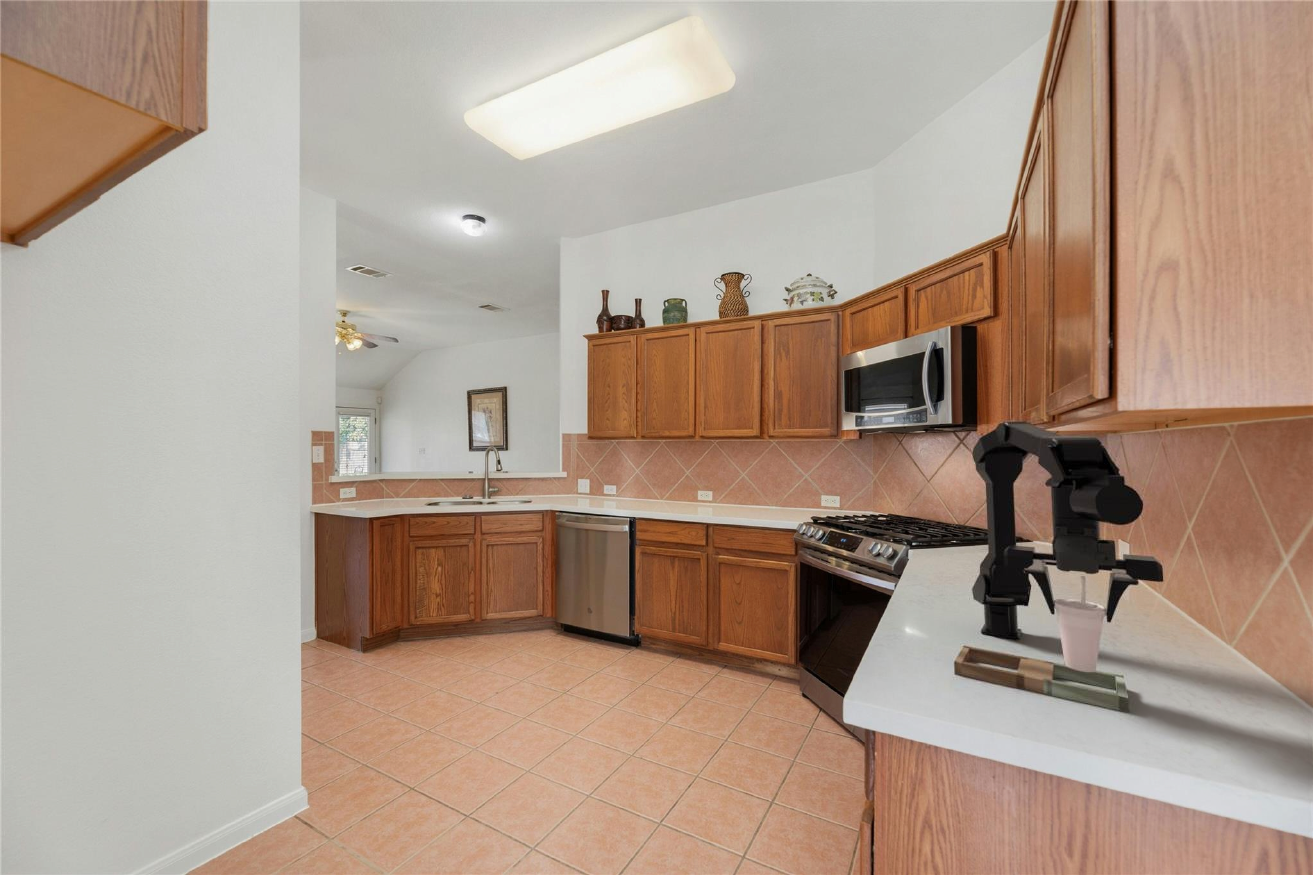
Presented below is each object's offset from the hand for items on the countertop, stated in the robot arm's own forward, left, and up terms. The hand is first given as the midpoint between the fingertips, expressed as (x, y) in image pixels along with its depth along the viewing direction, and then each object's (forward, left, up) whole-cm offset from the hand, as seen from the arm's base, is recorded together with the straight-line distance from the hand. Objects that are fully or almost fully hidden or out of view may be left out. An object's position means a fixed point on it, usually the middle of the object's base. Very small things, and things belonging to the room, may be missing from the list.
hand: (1080, 617), depth 80 cm
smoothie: (0, 0, -8) cm, 8 cm away
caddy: (0, -6, -11) cm, 13 cm away
